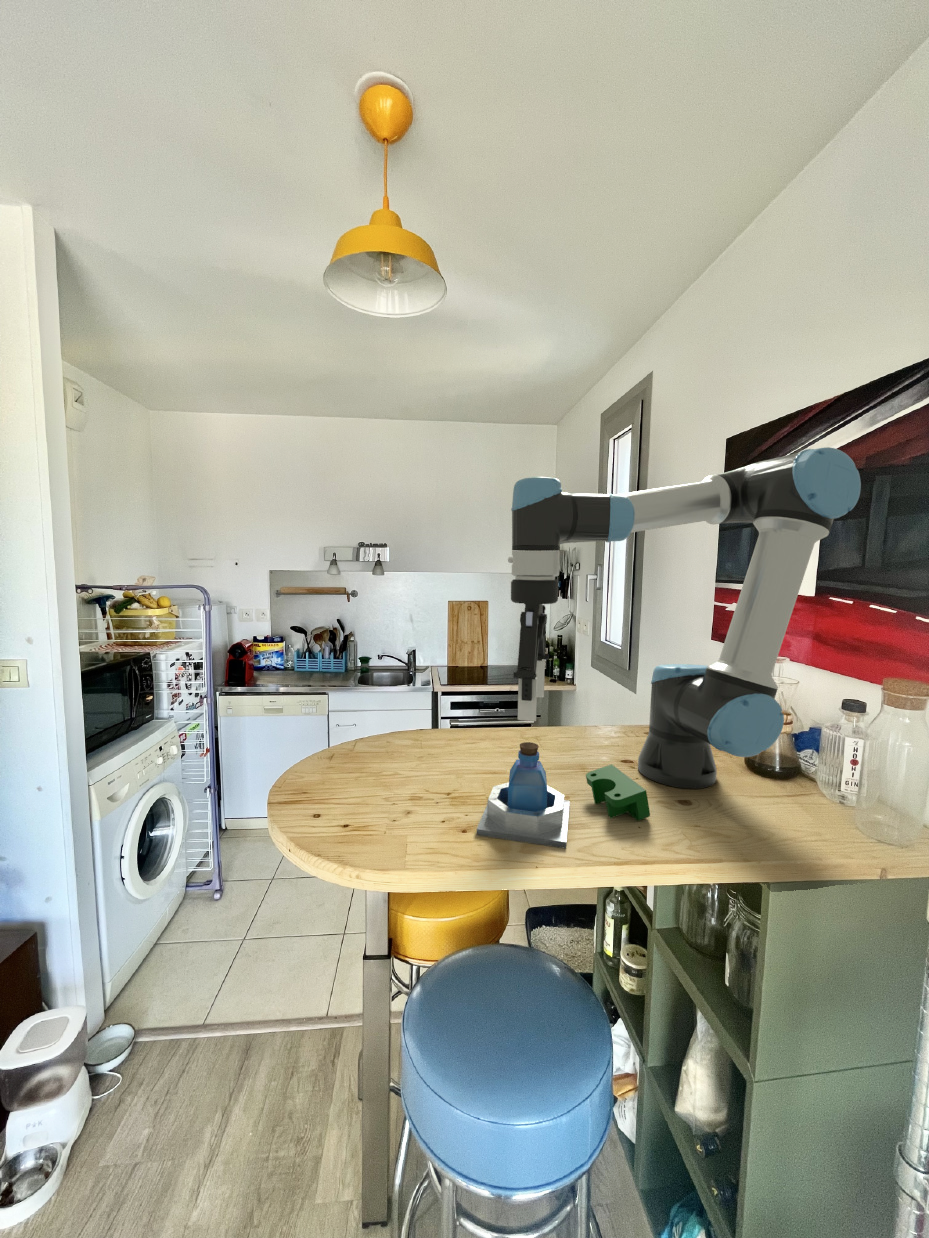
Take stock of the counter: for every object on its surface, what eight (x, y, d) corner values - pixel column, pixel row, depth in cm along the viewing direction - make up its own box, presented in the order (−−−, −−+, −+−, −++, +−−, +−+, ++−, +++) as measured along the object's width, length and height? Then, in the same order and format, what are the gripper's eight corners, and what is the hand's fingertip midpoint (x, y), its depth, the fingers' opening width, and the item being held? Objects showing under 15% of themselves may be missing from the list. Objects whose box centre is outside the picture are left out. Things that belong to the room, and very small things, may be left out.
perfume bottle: (508, 804, 90) (511, 738, 89) (544, 806, 89) (547, 740, 88) (507, 821, 84) (509, 751, 83) (545, 824, 83) (548, 753, 82)
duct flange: (569, 806, 92) (570, 784, 91) (566, 848, 78) (567, 823, 78) (492, 796, 95) (493, 775, 95) (476, 834, 82) (477, 811, 81)
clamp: (596, 822, 95) (579, 773, 97) (624, 812, 96) (607, 764, 98) (624, 830, 84) (605, 775, 86) (656, 818, 85) (636, 764, 87)
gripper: (521, 575, 95) (519, 687, 98) (497, 581, 71) (495, 729, 73) (562, 575, 93) (559, 690, 96) (552, 582, 69) (548, 734, 72)
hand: (531, 707), depth 85 cm, fingers open, 13 cm apart
